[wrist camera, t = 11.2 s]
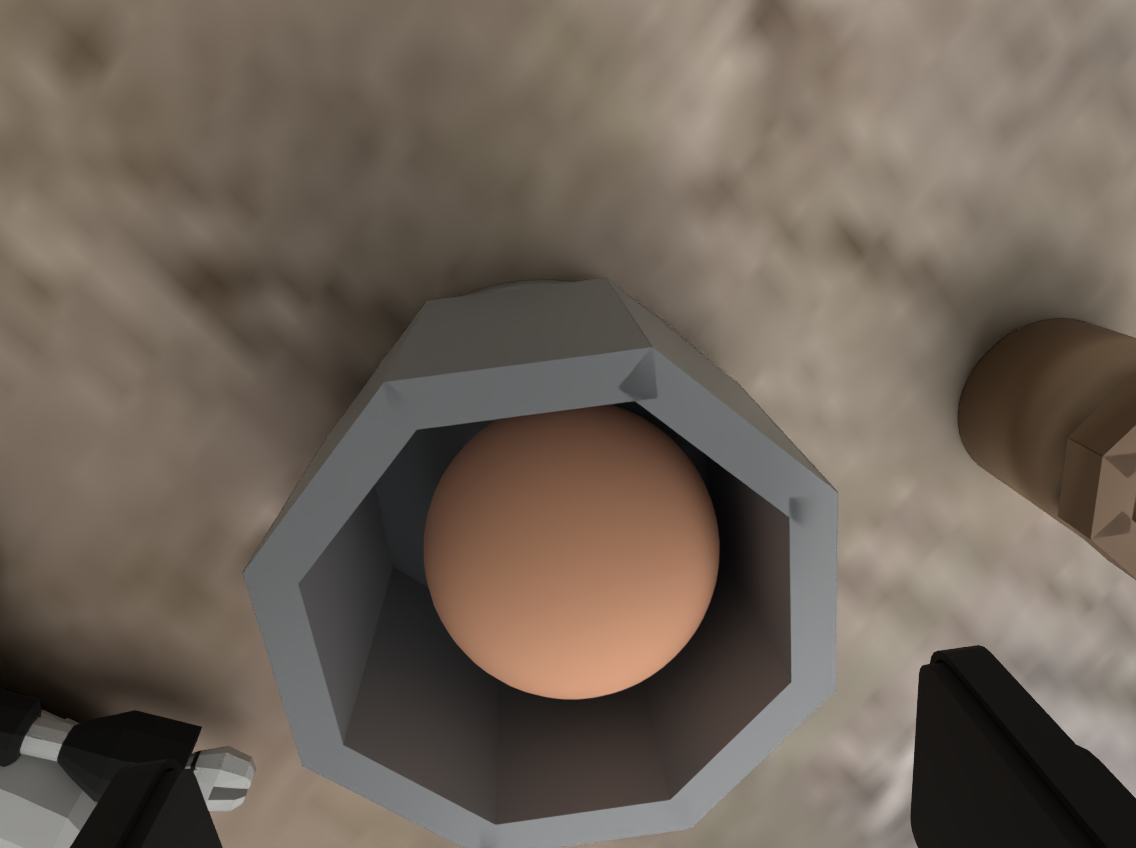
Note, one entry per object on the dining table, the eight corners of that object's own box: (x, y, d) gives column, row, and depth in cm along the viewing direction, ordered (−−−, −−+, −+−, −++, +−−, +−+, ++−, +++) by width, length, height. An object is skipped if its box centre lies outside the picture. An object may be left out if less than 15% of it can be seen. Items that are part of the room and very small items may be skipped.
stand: (964, 330, 19) (1112, 393, 14) (1137, 307, 19) (1340, 363, 14) (952, 489, 21) (1082, 593, 16) (1113, 468, 21) (1288, 565, 16)
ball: (390, 392, 17) (405, 509, 11) (647, 345, 18) (773, 430, 13) (438, 620, 19) (470, 809, 14) (665, 564, 20) (778, 719, 15)
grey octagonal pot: (309, 307, 18) (191, 406, 11) (720, 255, 18) (841, 322, 11) (391, 650, 21) (337, 880, 15) (735, 602, 21) (834, 808, 15)
